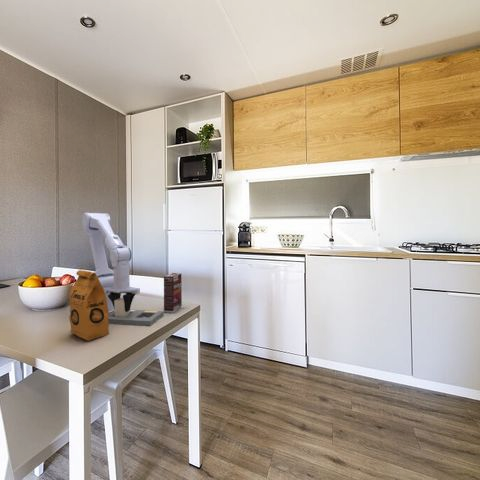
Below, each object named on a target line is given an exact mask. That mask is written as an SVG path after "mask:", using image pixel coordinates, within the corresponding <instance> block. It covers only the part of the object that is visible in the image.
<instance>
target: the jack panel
mask: <svg viewBox="0 0 480 480" xmlns="http://www.w3.org/2000/svg"><path fill="white" fill-rule="evenodd" d="M164 314H165V312H164V310H146V309H145V310H143V309H130V314H129V315H127V316H125V317H116V316H115V311H113V312H111V313H109V318H108V324H109V325H110V324H111V325H113V324H114V325H129V326H130V325H131V326H146V327H148V326H149V327H151V326H152V325H154V324H155V323H156V322H158V321H159V320H160V319H161V318H162V317H163V316H164Z"/></svg>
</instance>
